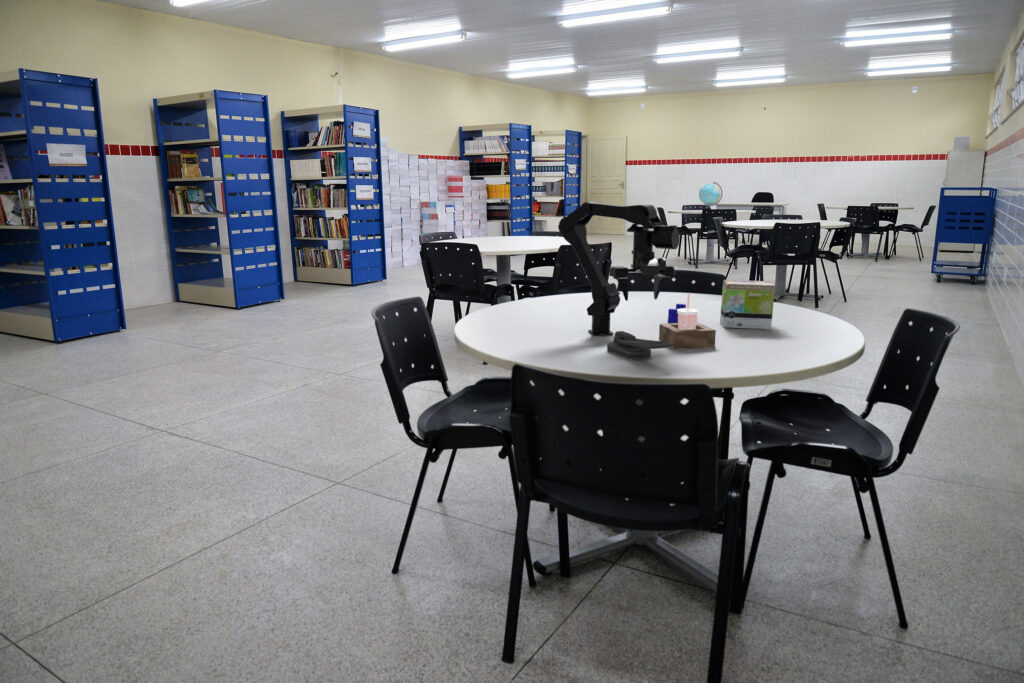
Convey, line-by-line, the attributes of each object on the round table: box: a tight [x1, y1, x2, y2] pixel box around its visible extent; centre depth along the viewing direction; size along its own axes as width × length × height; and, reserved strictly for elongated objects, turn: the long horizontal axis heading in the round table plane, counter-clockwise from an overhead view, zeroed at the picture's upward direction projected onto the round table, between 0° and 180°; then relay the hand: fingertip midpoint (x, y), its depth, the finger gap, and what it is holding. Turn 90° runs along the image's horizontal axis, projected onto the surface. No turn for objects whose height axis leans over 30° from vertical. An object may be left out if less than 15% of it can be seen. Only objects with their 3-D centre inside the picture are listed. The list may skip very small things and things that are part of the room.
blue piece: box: [667, 303, 687, 323], centre depth 228 cm, size 12×4×6 cm, turn 153°
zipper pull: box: [606, 330, 676, 361], centre depth 183 cm, size 9×7×25 cm
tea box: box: [719, 279, 776, 331], centre depth 222 cm, size 15×10×15 cm
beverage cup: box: [677, 292, 699, 330], centre depth 198 cm, size 6×6×14 cm
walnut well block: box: [658, 321, 717, 350], centre depth 199 cm, size 12×12×5 cm
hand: (641, 299), depth 203 cm, fingers open, 9 cm apart
